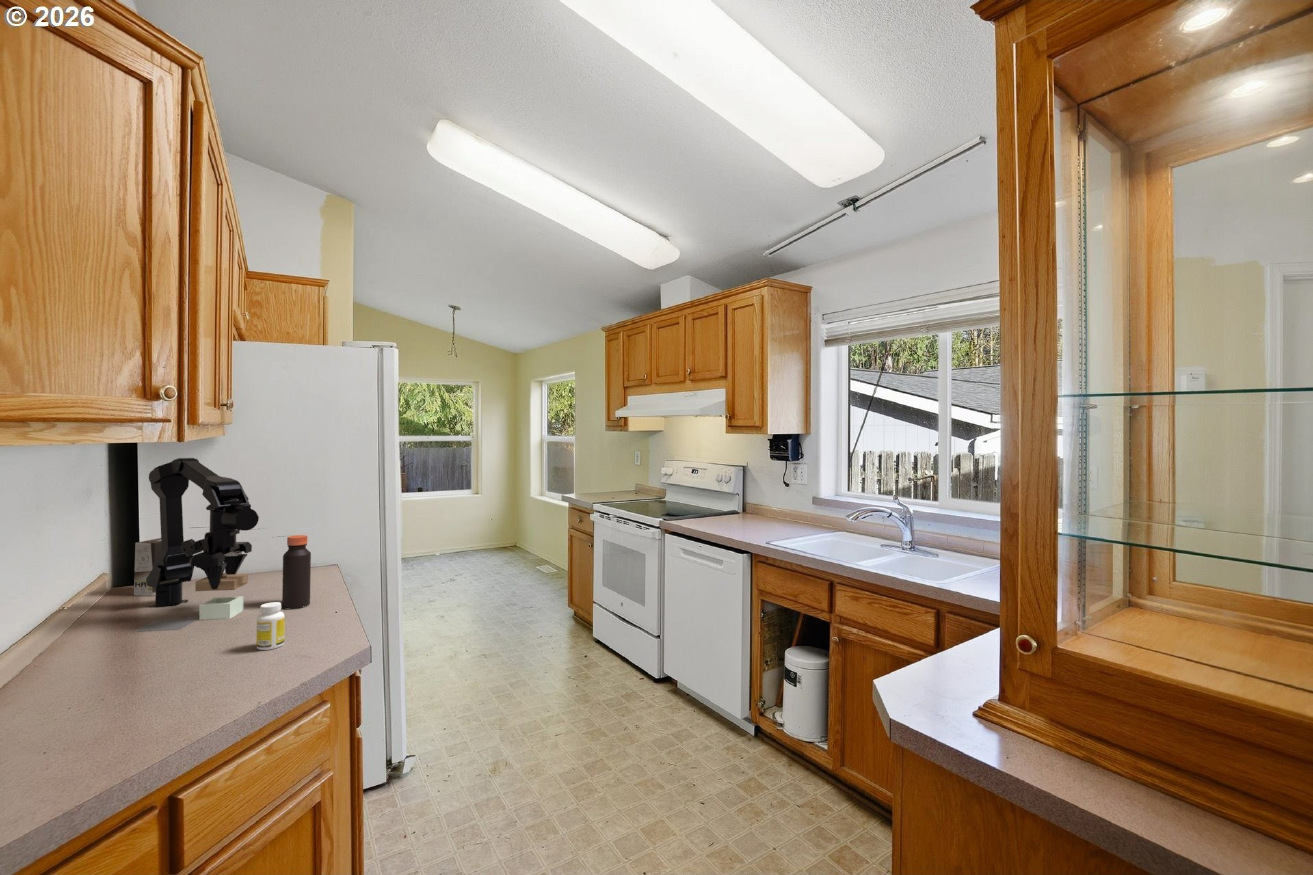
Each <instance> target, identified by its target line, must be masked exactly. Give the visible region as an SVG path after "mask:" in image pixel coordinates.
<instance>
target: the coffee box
mask: <svg viewBox="0 0 1313 875" xmlns="http://www.w3.org/2000/svg"><path fill="white" fill-rule="evenodd" d="M160 551H161V537H160V538H154V539H148V540H142V541H138V542H135V545H134V574H133V575H134V578H133V581H134V584H133V596H140V597H141V596H142V597H144V596H147V597H153V596H154V595H155V593H156V588H154V587H149V586H147V582H146V578H147V577H148V575H149V574H150V572H151V571H152V569H153V568H154V560H155V558H156V557H157V555H158V554H159V552H160ZM154 597H155V596H154Z"/></svg>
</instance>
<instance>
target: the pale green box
mask: <svg viewBox="0 0 1313 875" xmlns="http://www.w3.org/2000/svg"><path fill="white" fill-rule="evenodd" d="M242 612H244V596H240V595H239V596H219V597H217V596H216V597H213V598H211V599H209V600H206V601H205V602H202V603H200V604H199V616H198V617H199V619H198V620H199V621H206V620H207V621H208V620H209V621H211V620H226V619H227V620H229V619H232V618H233V617H235V616H237V615H238V614H240V613H242Z"/></svg>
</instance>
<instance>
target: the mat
mask: <svg viewBox="0 0 1313 875" xmlns="http://www.w3.org/2000/svg"><path fill="white" fill-rule="evenodd" d="M198 620H199V616H195V617H193V616H192V617H171V618H170V617H169V618H158V619H155V620H154V621H151V622H149V623H148V624H145V625H144V626H141V627H139V628H138V629H135V630H133V631H132V633H140V632H141V633H142V632H160V631H161V632H162V631H179V630H182V629H183V628H186V627H187V626H189V625H191V624H192V623H194V622H196V621H198Z"/></svg>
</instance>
